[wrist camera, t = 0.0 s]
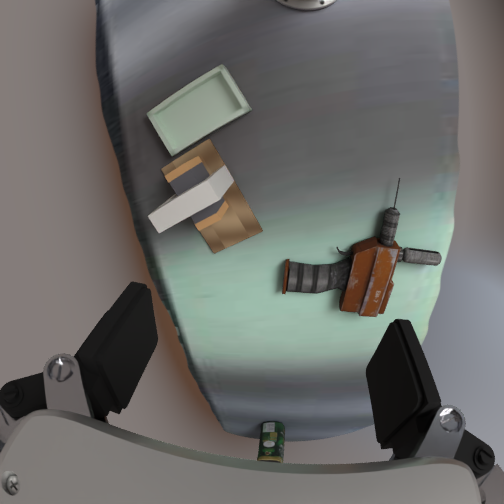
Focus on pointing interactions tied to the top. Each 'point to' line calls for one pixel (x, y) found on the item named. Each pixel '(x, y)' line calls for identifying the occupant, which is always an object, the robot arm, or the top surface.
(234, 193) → the holder
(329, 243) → the top surface
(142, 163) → the top surface
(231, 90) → the tray
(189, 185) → the block
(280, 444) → the coffee jar
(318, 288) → the tool
